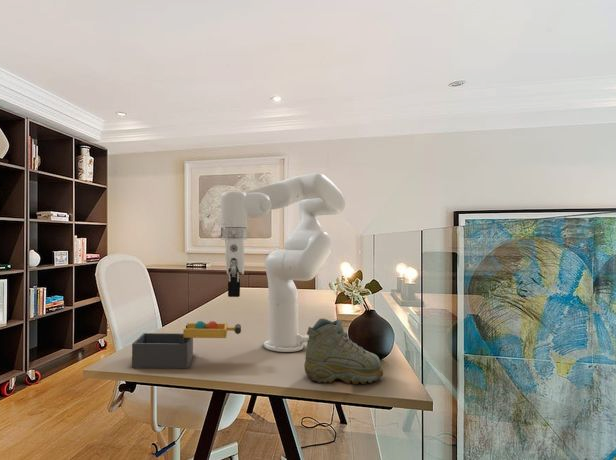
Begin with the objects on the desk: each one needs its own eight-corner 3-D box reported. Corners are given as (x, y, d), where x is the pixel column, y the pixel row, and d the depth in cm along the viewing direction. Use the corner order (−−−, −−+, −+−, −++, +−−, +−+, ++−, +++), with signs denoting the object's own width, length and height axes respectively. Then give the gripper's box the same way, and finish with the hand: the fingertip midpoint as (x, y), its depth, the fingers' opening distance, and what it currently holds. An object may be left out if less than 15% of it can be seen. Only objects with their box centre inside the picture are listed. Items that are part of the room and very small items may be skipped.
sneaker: (389, 388, 89) (386, 322, 91) (304, 383, 93) (303, 320, 95) (380, 376, 99) (377, 317, 101) (304, 373, 103) (303, 316, 105)
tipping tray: (241, 331, 114) (241, 322, 114) (241, 338, 106) (240, 328, 106) (187, 331, 115) (187, 322, 115) (183, 337, 107) (183, 328, 107)
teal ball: (206, 331, 112) (206, 320, 112) (205, 333, 109) (205, 322, 109) (195, 331, 112) (195, 320, 112) (194, 333, 109) (194, 322, 109)
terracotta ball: (218, 331, 112) (218, 320, 112) (217, 333, 109) (217, 322, 109) (207, 331, 112) (207, 320, 112) (206, 333, 109) (206, 322, 109)
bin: (192, 355, 116) (193, 325, 117) (187, 368, 104) (187, 334, 104) (143, 354, 117) (143, 324, 117) (131, 367, 105) (132, 334, 105)
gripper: (247, 233, 101) (247, 298, 101) (246, 235, 119) (247, 290, 118) (219, 233, 102) (219, 298, 101) (222, 235, 119) (222, 290, 118)
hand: (234, 294), depth 110 cm, fingers open, 9 cm apart
